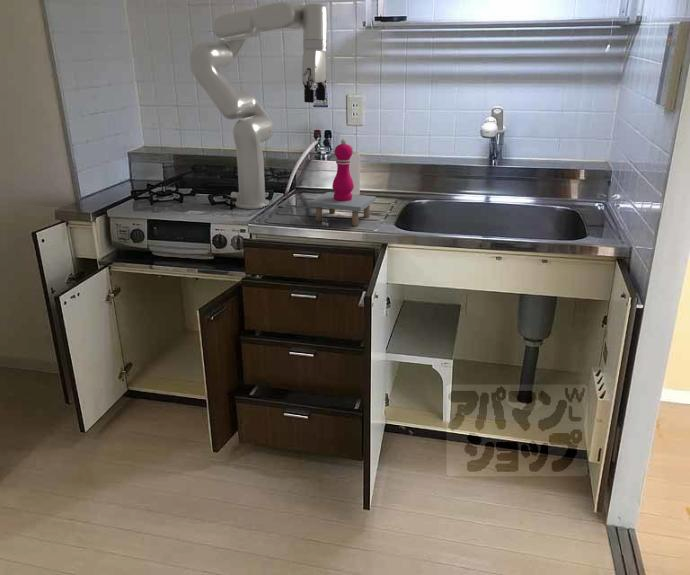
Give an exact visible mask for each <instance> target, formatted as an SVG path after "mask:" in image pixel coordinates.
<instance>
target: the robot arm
mask: <svg viewBox="0 0 690 575" xmlns="http://www.w3.org/2000/svg"><path fill="white" fill-rule="evenodd" d="M327 15H328V14H327V6H326V5H325V4H323V3H306V4H301V3H296V2H295V3H293V2H286V1H283V2H282V1H281V2H275V3H270V4H269V3H268V4H263V5H259V6H257V7H253V8H250V9H249V8H247V9H244V10H237V11H232V12H227V13H226V12H225V13H222V14H219V15H217V16H216V18H214V20H213V22H212V30H213V32H214V34H215V36H216V37H217V38H218V39H219V41H202V42H198V43H196V44H195V45H194V46H193V47H192V49H191V51H190V53H189V68H190V70H191V73H192V76H193V78H194V79H195V80H196V82H198V84H199V85H200V86H201V88H203V90H204V91H205V93H206V94H207V96H209V99H210V100H211V101H212V103H213V104H214V105H215V107H216V108H217V109H218V111H219V113H220V114H221V115H222V117H224V118H225V119H227V120H230V121H233V120H237V121H236V122H235V124H234V126H233V129H232V136H233V141H234V146H235V150H236V151H235V152H236V166H237V176H238V177H237V178H238V182H237V183H238V192H236V191H232V192H231V193H230V198H231V199H236V201H235V203H234V204H235V207H237V208H240V209H247V210H249V209H250V210H253V209H254V210H255V209H263V207H264V208H266V207H265V206H267V205H268V204H269V203H270V200H268V199H266V185H265V182H266V181H265V163H264V162H265V161H264V152H263V149H262V146H261V143H264V142H267V141H269V140H270V139H272V138H273V136H274V132H275V127H274V123H273V121H272V119H271V117H270V116H269V115H268V113H267V112H266V111H265V109H264V107H262V105H261V104H260V102H259V101H258V100H257V98H256V97H255V96H254V95H253V94H252V93H250V92H248V91H245V90H235V89H234V87H233V86H232V85H231V84H230V83H229V81H228V80H227V78H226V77H225V76H224V75H223V74H222V73H221V72H219V71H218V70H217V68H226V67H228V66H230V65H232V63H233V62H234V61H235V59H236V58H237V56H238V55H239V53H240V51H241V50H242V49H243V47H244V46H245V44H246V42H247V40H248V39H249V38H254V37H260V36H261V35H262V33H263V32H269V31H274V30H280V29H281V30H282V29H293V30H301V29H302V33H303V34H302V39H303V40H302V44H303V45H302V46H303V47H302V51H303V52H302V53H303V54H302V64H301V66H302V67H301V80H302V81H301V82H302V84H303V90H304V91H303V92H304V93H303V94H304V95H303V98H304V100H303V102H305V103H307V104H308V103H310V104H313V103H314V102H315V100H316V101H326V87H327V84H326V83H327V62H326V61H327V60H326V52H327V35H328V34H327V22H328V21H327V19H328V18H327ZM315 84H316V88H315V90H314V87H315V86H314V85H315ZM269 205H270V204H269ZM267 207H268V206H267Z"/></svg>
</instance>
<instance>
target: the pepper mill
mask: <svg viewBox="0 0 690 575" xmlns="http://www.w3.org/2000/svg"><path fill="white" fill-rule="evenodd" d="M349 145H350V144H349ZM349 145H348V143H347V140H346V139H341V140H340V144H338V145H337V146H335V147H334V153H333V154H334V156H335V157H336V158H335V164H336V167H337V169H336V174H335V176H334V179H333V182H332V190H333V191H334V199H335V200H337V201H349V200H352V194H351V191H352V190H353V188H354V184H353V180H352V178H351V176H350V172H349V165H350V163H351V159H350V157H351V156H352V153H353V152H352V148H351V147H350V146H349Z"/></svg>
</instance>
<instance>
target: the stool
mask: <svg viewBox="0 0 690 575" xmlns="http://www.w3.org/2000/svg"><path fill="white" fill-rule="evenodd" d="M334 193H335V191H334V192H333V191H327V192H325V193H323V194H321V195H320V196H318V197H316V198H315V199H312V200H311V201H309V207H314V208H315V222H316V221H317V222H316V223H322V222H323V208H324V209H328V210H329V211H328V212H329V214H333V215H334V214H336V210H339V211H340V210H341V211H350V212H352V214H351V215H352V216H351V220H352V221H351V226H352V225H353V226H352V227H358V226H359V212H360V213H361V212H362V211H363V218H366V219H367V218H370V211H371V210H370V209H371V208H370V207H371V205H372V204H374V203H375V202H376V201H377V200H376V199H377V197H376V196H373V195H365V194H364V195H362V194H360V195H354V194H352V200H349V201H337V200H335V199H334ZM321 221H322V222H321Z"/></svg>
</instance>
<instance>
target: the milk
mask: <svg viewBox="0 0 690 575" xmlns="http://www.w3.org/2000/svg"><path fill="white" fill-rule="evenodd" d="M347 145H349V146H350V147H351V148H352V152H353V153H352V156H351V157H350V159H351V163H350V165H349V172H350V176H351V178H352V180H353V184H354V188H353V190H352V191H351V194H354V195H361V192H360V190H361V154H359V153H357V152H356V151H354V146H353V145H352V144H351V145H350V144H349V143H347Z"/></svg>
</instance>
